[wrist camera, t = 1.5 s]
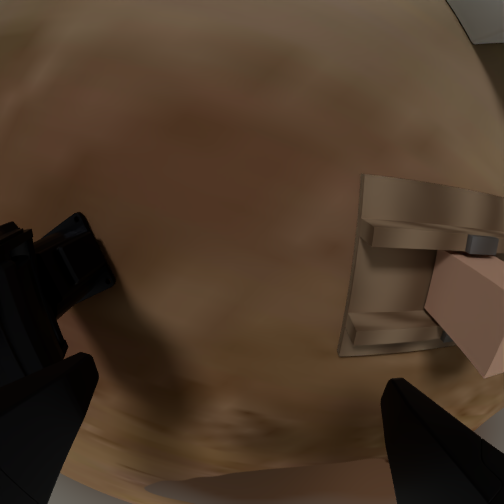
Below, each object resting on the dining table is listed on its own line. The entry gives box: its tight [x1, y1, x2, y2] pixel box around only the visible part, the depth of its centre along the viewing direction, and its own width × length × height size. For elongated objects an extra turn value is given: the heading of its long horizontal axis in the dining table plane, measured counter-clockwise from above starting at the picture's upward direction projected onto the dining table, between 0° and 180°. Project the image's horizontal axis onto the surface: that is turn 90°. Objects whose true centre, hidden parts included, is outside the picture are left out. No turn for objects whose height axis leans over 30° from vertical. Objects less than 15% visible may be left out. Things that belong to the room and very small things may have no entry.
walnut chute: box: [337, 174, 504, 356], centre depth 18 cm, size 24×14×4 cm, turn 89°
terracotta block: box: [424, 250, 504, 378], centre depth 14 cm, size 5×5×9 cm
